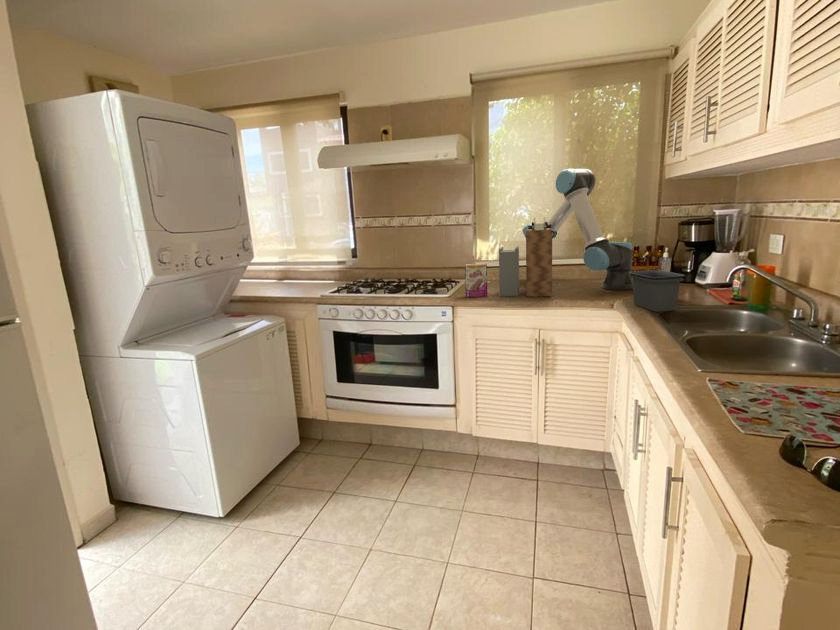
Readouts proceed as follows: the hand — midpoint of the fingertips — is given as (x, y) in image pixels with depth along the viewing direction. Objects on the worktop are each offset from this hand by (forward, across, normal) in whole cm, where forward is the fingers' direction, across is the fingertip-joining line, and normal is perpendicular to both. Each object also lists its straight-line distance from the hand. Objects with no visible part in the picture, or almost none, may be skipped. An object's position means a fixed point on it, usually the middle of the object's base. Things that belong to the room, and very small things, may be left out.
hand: (539, 220), depth 227 cm
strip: (+1, 0, -5) cm, 5 cm away
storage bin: (+15, -46, -51) cm, 70 cm away
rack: (-14, +15, -34) cm, 39 cm away
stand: (-12, 0, -35) cm, 37 cm away
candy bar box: (-9, +31, -37) cm, 49 cm away
